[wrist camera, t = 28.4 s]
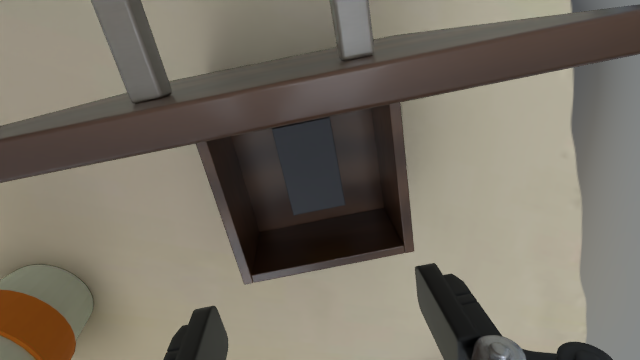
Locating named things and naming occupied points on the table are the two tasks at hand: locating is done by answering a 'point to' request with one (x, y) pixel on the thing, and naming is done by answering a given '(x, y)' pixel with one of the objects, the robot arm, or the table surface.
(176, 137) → the case lid
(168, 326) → the table surface
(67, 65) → the table surface
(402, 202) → the case
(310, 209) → the duster
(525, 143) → the table surface
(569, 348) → the robot arm
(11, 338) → the reusable coffee cup
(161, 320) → the table surface
